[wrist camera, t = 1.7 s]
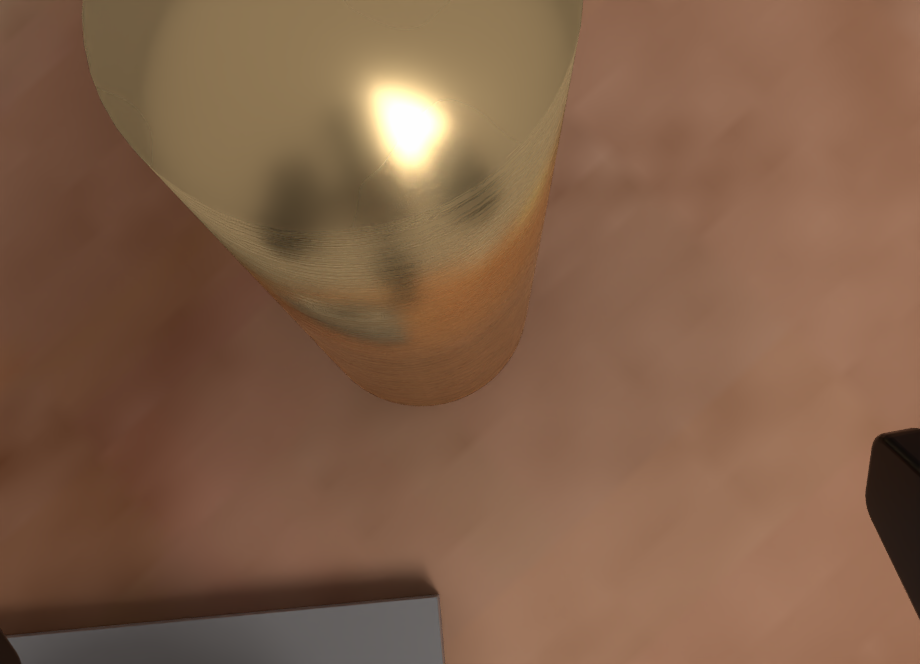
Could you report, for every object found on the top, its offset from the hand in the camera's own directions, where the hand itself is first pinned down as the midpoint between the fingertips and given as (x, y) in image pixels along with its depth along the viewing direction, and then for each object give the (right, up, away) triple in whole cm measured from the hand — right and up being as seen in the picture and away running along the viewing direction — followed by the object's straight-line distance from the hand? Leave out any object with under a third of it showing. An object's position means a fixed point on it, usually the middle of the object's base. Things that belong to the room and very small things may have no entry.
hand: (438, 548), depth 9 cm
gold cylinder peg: (-1, +3, +13) cm, 13 cm away
